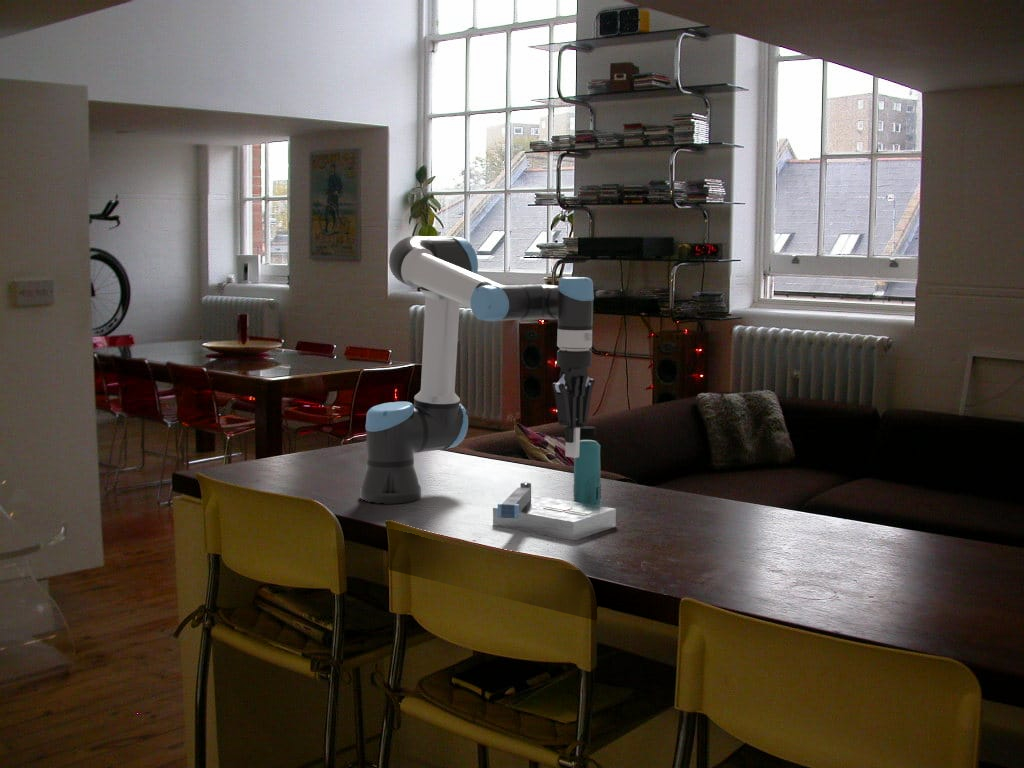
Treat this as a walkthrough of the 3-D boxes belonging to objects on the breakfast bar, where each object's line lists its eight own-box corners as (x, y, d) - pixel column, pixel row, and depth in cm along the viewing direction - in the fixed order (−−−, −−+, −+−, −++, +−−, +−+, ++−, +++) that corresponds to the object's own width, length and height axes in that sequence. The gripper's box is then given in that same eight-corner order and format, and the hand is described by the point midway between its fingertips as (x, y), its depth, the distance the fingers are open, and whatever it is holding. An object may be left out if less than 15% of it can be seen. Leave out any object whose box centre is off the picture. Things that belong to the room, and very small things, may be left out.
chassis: (492, 525, 244) (492, 487, 243) (536, 512, 257) (536, 476, 256) (573, 540, 231) (573, 500, 230) (615, 526, 243) (615, 488, 242)
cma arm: (514, 499, 246) (514, 487, 246) (533, 500, 245) (533, 488, 245) (497, 517, 229) (497, 504, 229) (518, 518, 228) (518, 505, 228)
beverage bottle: (599, 514, 255) (599, 429, 253) (570, 512, 256) (571, 428, 254) (602, 508, 261) (603, 425, 259) (574, 506, 263) (575, 424, 260)
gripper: (571, 352, 229) (568, 463, 232) (606, 348, 239) (603, 454, 242) (542, 349, 234) (540, 458, 237) (577, 345, 244) (575, 450, 247)
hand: (572, 456), depth 239 cm, fingers closed
